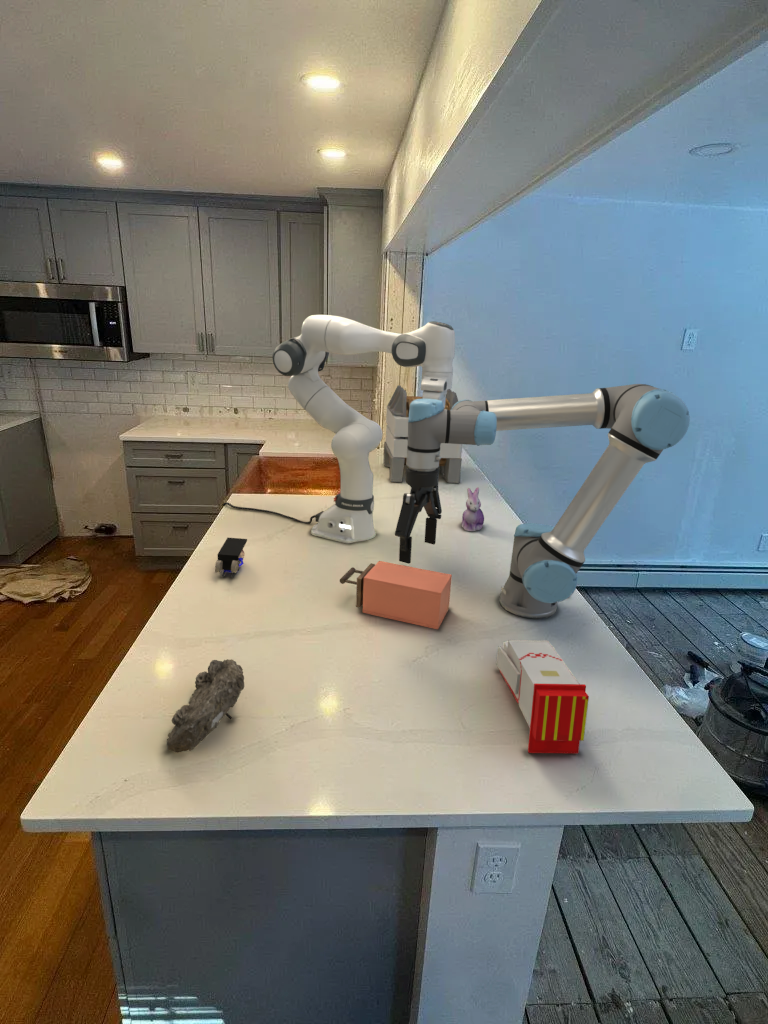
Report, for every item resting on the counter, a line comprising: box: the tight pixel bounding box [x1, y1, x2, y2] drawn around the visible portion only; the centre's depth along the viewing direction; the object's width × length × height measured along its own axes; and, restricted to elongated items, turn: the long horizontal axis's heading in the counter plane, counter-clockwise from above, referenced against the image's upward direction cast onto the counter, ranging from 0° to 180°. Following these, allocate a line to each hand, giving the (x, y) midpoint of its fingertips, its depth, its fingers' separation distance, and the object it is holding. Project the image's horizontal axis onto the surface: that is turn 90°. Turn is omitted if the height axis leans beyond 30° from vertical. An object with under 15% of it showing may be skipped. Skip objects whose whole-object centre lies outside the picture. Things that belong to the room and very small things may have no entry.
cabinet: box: [362, 560, 453, 630], centre depth 147 cm, size 20×11×10 cm, turn 70°
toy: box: [495, 639, 590, 754], centre depth 114 cm, size 12×13×30 cm
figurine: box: [461, 486, 485, 532], centre depth 206 cm, size 9×10×15 cm
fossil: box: [166, 658, 245, 754], centre depth 106 cm, size 22×10×15 cm
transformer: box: [383, 384, 463, 484], centre depth 268 cm, size 34×33×41 cm
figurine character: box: [214, 537, 248, 578], centre depth 166 cm, size 7×8×15 cm
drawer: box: [339, 563, 376, 609], centre depth 149 cm, size 24×10×8 cm, turn 70°
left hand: (433, 429), depth 167 cm, fingers open, 8 cm apart
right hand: (417, 552), depth 137 cm, fingers open, 13 cm apart
